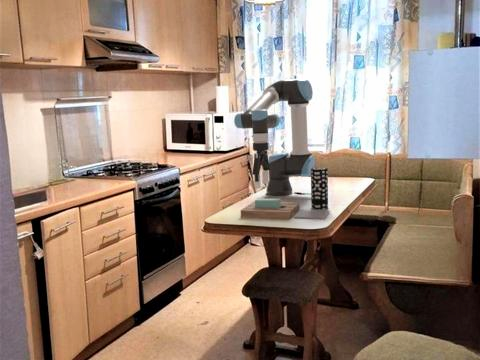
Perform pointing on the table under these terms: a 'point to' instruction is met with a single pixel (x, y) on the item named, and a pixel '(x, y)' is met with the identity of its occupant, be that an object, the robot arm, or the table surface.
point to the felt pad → (312, 214)
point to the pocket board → (271, 211)
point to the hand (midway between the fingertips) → (261, 185)
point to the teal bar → (268, 203)
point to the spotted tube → (319, 188)
